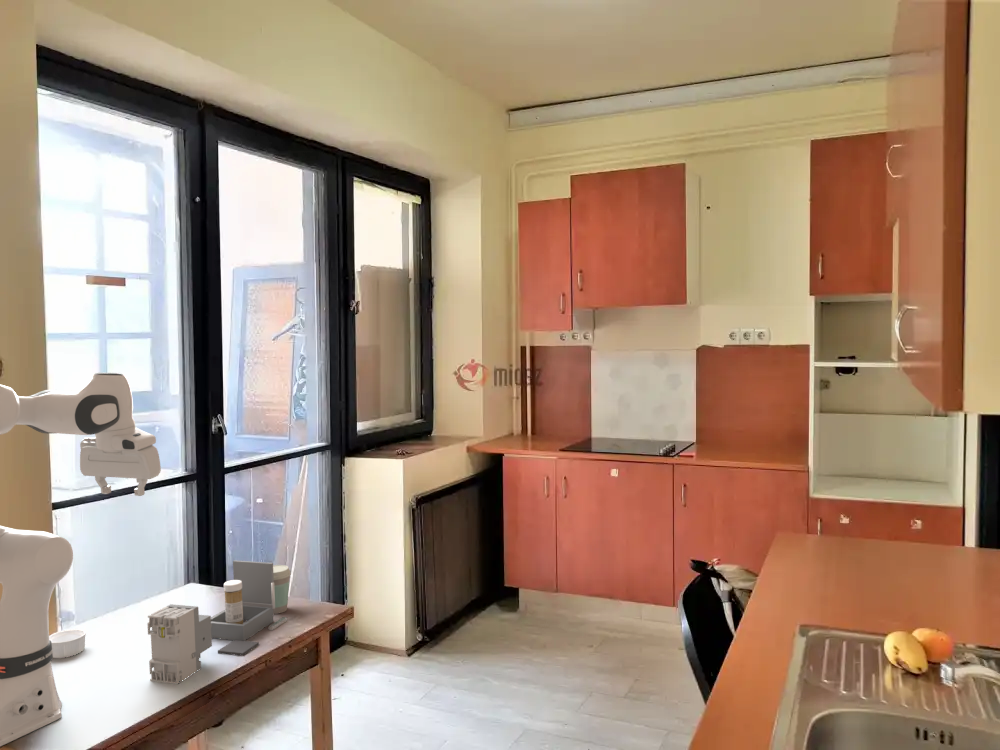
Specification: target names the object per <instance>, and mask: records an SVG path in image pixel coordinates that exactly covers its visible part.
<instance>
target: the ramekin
mask: <svg viewBox="0 0 1000 750" xmlns="http://www.w3.org/2000/svg"><path fill="white" fill-rule="evenodd" d="M86 634H87V632H86V630H84V629H78V628H75V629H66V630H62V631H57V632H55V633H52V634H49V640H50V641H51V642H52V650H53V652H52V653H53V658H52V659H65V657H66V658H70V656H71V657H74V656H77V655H78V653H79V654H80V653H82V652H83V651H84V650H85V647H86V636H87V635H86ZM81 651H82V652H81ZM76 654H77V655H76ZM73 655H74V656H73Z"/></svg>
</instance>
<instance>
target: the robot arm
mask: <svg viewBox="0 0 1000 750" xmlns="http://www.w3.org/2000/svg"><path fill="white" fill-rule="evenodd" d="M133 410H134V400H133V394H132V389H131V385H130V382H129V378H128V377H127V376H126V375H125V374H123V373H121V372H95V373H92V374H91V377H90V380H89V381H88V382H87V384H86V385H85V386H84V387H82V388H81V389H79V390H78V391H64V390H63V391H61V390H56V389H55V390H53V389H45V390H42V391H41V390H40V391H39V392H36V393H34V394H31V395H29V396H24V395H23V396H20V395H17V393H16V392H15V391H14V389H13V388H12V387H10V386H6V385H3V384H0V435H4V434H7V433H9V432H10V431H11V430H12V429H13V428H14V427H15V426H17V425H20V426H22V425H23V426H27V427H29V428H31V429H33V430H34V431H36V432H39V433H41V434H45V435H46V434H64V435H77V436H78V435H80V436H92V435H94V436H95V437H84V439H82V440H81V442H79V447H80V454H79V467H80V468H79V469H80V473H81V474H82V475H83V476H85V477H94V479H95V482H96V484H97V485H98V486H99V487H100V493H101V494H103V495H109V494H111V493H112V485H111V484H108V483H107V480H106V478H122V479H136V483H138V484H137V487H136V488H134V489H133V492H134V496H135V497H141V496H142V497H143V496H144V495H145V494H146V493H145V487H146V485H147V482H148V480H152V479H154V478H156V477H159V475H160V473H161V471H162V469H161V468H162V467H161V460H160V454H159V451H158V448H157V447H156V446H155V444H156V443H157V439H156V436H155V435H154V434H151V433H149V432H146V431H144V430H142V429H140V428H138V427H137V426H136V421H135V419H134V416H133V412H134V411H133ZM73 560H74V550H73V547H72V544H71V543H70V542H69V540H67V539H66V538H65V537H62V536H59V535H57V534H55V533H51V532H48V531H44V530H32V529H19V528H18V529H17V528H12V527H7V526H4V525H0V584H1V586H2V592H1V598H0V747H2V746H4V745H6V744H9V743H11V742H12V741H15V740H17V739H19V738H22V737H23V736H26V735H28V734H30V733H32V732H34V731H36V730H38V729H40V728H42V727H45V726H47V725H49V724H50V723H53V722H55V721H57V720H59V719H61V717H62V711H61V708H62V706H63V705H62V704H63V703H62V700H61V699H60V696H59V694H58V691H57V687H56V683H55V677H54V672H53V667H52V660H53V659H54V658H53V653H52V652H53V650H52V642H51V641H50V640H49V636H50V631H49V630H50V629H49V627H50V626H49V610H50V609H49V607H50V601H51V597H52V595H53V592H54V590H55V588H56V585H57V584H58V583H59V582H60V581H61V580H63V578H65V577H66V576H67V574H68V573H69V571H70V570H71V567H72V564H73Z"/></svg>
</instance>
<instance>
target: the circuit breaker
mask: <svg viewBox="0 0 1000 750" xmlns="http://www.w3.org/2000/svg"><path fill="white" fill-rule="evenodd" d="M199 612H200V611H199V606H197V605H196V606H195V605H183V604H171V603H170V604H169V605H166V606H165V607H162V608H160V609H159V610H157V611H154V612H153V613H151V614H149V615H147V618H148V619H149V620H148V622H147V635H148V636H149V635H150V644H151V646H150V647H151V659H149V663H148V664H149V675H150V677H151V678H150V680H149V681H151V682H156V683H157V682H158V683H166V684H173V683H177V684H176V685H179V684H180V682H183V681H182V680H184V679H185V678H187V677H188V676H190V675H191V674H192V673H194V672H196V671H197V670H199V669H200V668H201V669H202V662H201V660H200V659H201V658H202V657H201V654H202V653H203V652H205V651H206V650H208V649H210V648H212V647H213V641H212V640H213V638H212V635H211V627H212V624H211V617H212V616H211V615H208V614H200V613H199ZM201 669H200V670H201ZM200 670H199V671H200ZM197 672H198V671H197ZM197 672H196V673H197ZM194 674H195V673H194ZM191 676H192V675H191ZM191 676H190V677H191ZM188 678H189V677H188ZM188 678H187V679H188ZM185 680H186V679H185ZM185 680H184V681H185ZM179 681H180V682H179ZM178 683H179V684H178Z"/></svg>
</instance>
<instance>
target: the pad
mask: <svg viewBox="0 0 1000 750" xmlns="http://www.w3.org/2000/svg"><path fill="white" fill-rule="evenodd" d="M259 644H260V642H259V641H250V640H245V641H242V640H231V642H229V643H227V644H226V645H224V646H222V648H220V649H218V650H217V653H218V654H222V653H227V654H226V655H232V654H235V655H234V656H242V655H243V656H245V655H246V654H248V653H249V652H250V651H251V649H252V650H254V649H255V648H256V647H257V646H259ZM254 647H255V648H254ZM245 653H246V654H245Z"/></svg>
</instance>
